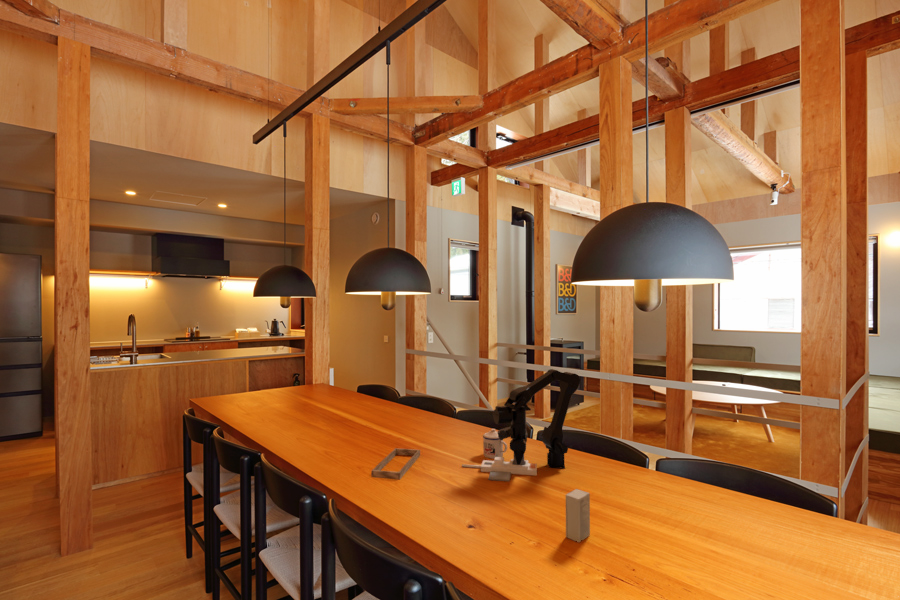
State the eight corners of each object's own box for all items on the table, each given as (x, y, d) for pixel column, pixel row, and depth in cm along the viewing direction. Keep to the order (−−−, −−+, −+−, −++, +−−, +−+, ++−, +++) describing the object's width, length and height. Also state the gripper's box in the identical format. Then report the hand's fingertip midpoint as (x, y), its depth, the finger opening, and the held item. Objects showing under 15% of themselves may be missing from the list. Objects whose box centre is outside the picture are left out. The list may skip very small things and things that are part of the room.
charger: (524, 464, 179) (524, 449, 179) (523, 467, 175) (523, 452, 175) (514, 463, 179) (514, 448, 180) (513, 467, 176) (513, 451, 176)
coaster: (510, 473, 174) (510, 472, 174) (509, 481, 166) (509, 479, 166) (490, 472, 175) (490, 470, 175) (488, 479, 168) (488, 478, 168)
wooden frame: (420, 455, 196) (420, 449, 196) (400, 479, 168) (400, 472, 168) (395, 453, 198) (395, 448, 198) (371, 477, 170) (371, 470, 170)
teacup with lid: (478, 455, 196) (478, 429, 196) (491, 451, 202) (491, 425, 203) (500, 462, 187) (500, 434, 188) (512, 456, 194) (512, 430, 194)
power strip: (536, 468, 179) (536, 457, 179) (536, 475, 172) (536, 464, 172) (463, 463, 186) (463, 453, 186) (460, 469, 178) (460, 459, 178)
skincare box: (577, 530, 129) (576, 488, 129) (590, 535, 126) (590, 492, 126) (565, 537, 125) (564, 494, 125) (578, 543, 121) (578, 499, 122)
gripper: (500, 415, 188) (501, 452, 188) (496, 426, 170) (496, 467, 170) (527, 416, 186) (527, 453, 186) (525, 428, 168) (526, 469, 167)
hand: (519, 460), depth 177 cm, fingers open, 9 cm apart
